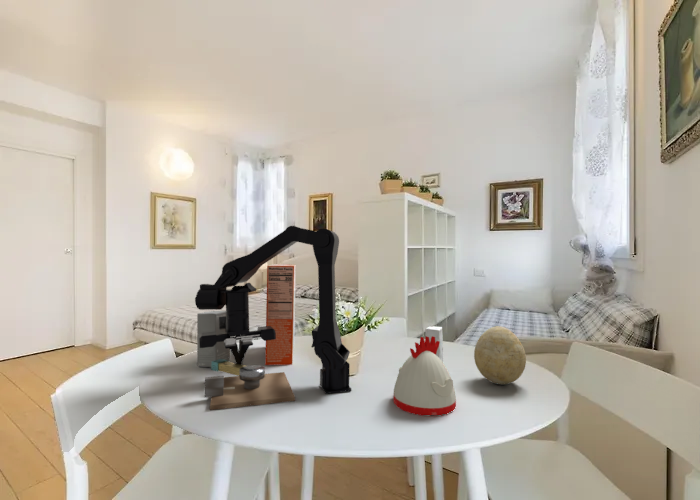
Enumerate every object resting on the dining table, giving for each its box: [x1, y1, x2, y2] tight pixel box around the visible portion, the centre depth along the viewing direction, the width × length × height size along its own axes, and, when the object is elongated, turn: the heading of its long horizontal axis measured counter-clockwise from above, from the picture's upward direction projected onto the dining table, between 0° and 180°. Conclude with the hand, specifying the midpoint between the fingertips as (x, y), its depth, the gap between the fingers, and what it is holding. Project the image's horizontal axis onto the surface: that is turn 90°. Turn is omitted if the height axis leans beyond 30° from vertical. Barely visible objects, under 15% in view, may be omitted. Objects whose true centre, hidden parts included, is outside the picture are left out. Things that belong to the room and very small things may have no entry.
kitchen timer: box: [392, 335, 457, 416], centre depth 82 cm, size 14×14×15 cm
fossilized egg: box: [473, 325, 527, 385], centre depth 96 cm, size 13×13×15 cm
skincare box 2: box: [425, 325, 444, 363], centre depth 108 cm, size 6×4×12 cm
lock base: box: [203, 371, 296, 411], centre depth 88 cm, size 20×19×5 cm
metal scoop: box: [210, 359, 266, 381], centre depth 90 cm, size 16×6×2 cm, turn 60°
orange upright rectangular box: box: [264, 263, 297, 366], centre depth 120 cm, size 23×8×30 cm, turn 7°
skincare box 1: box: [196, 310, 231, 368], centre depth 109 cm, size 8×7×16 cm
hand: (238, 369), depth 94 cm, fingers closed
